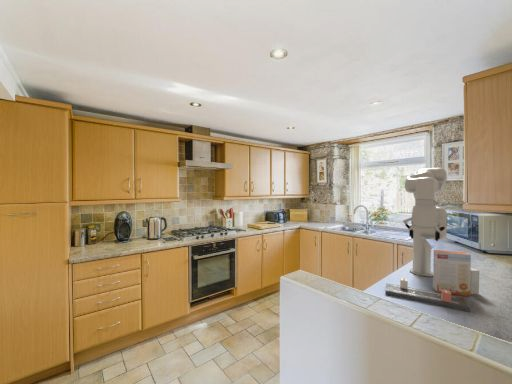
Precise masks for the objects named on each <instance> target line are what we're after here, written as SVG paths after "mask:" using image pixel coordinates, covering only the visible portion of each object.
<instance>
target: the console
mask: <svg viewBox="0 0 512 384" xmlns="http://www.w3.org/2000/svg"><path fill="white" fill-rule="evenodd" d="M386 294H388V295H387V296H391V295H392V296H391V297H395V298H399V299H404V300H405V299H407V300H411V301H415V302H421V303H425V304H430V305H435V306H440V307H445V308H449V309H455V310H460V311H464V312H469V313H470V312H471V307H470V304H469V303H468V302H467V300H466V299H465V297H463V296H460V295H454V294H451V303H450V302H445V301H442V299H441V293H438V292H437V291H430V290H425V289H420V288H414V287H408V289H404V288H401V287H400V285H398V284H392V283H386V284H385V295H386Z"/></svg>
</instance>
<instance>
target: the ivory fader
mask: <svg viewBox="0 0 512 384" xmlns="http://www.w3.org/2000/svg"><path fill="white" fill-rule="evenodd" d="M399 281H400V285H399V286H400V287H401V288H404V289H408V284H409V283H408V282H409V280H408V278H406V277H400V279H399Z"/></svg>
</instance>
